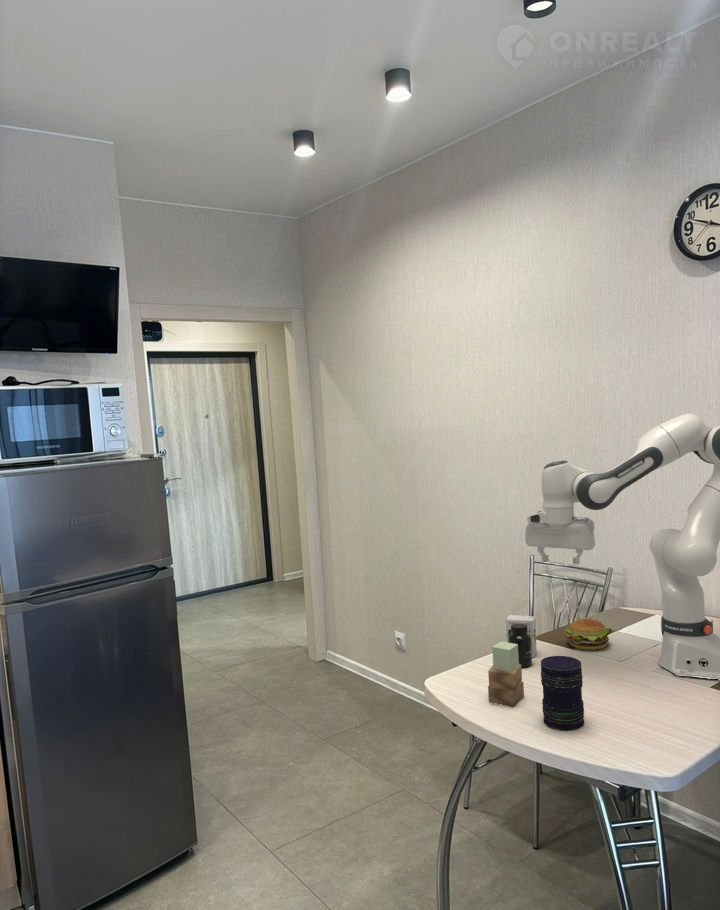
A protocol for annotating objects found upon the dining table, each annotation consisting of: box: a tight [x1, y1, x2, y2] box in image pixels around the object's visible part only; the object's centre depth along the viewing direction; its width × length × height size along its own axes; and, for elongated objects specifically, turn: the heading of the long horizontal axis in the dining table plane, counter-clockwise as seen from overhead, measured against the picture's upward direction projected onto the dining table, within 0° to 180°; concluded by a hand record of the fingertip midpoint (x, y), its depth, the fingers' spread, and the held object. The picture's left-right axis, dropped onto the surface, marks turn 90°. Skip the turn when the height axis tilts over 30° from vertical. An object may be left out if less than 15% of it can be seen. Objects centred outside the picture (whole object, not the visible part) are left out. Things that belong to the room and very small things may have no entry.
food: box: [564, 618, 612, 651], centre depth 224 cm, size 14×14×8 cm
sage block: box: [491, 641, 519, 672], centre depth 186 cm, size 5×5×6 cm
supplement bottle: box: [508, 623, 533, 669], centre depth 211 cm, size 7×7×12 cm
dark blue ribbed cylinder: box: [540, 655, 585, 732], centre depth 172 cm, size 10×10×15 cm
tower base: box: [487, 680, 525, 708], centre depth 187 cm, size 7×7×4 cm
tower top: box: [487, 664, 523, 691], centre depth 187 cm, size 7×7×4 cm
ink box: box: [505, 614, 538, 658], centre depth 219 cm, size 9×5×12 cm, turn 68°
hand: (560, 562), depth 206 cm, fingers open, 8 cm apart
